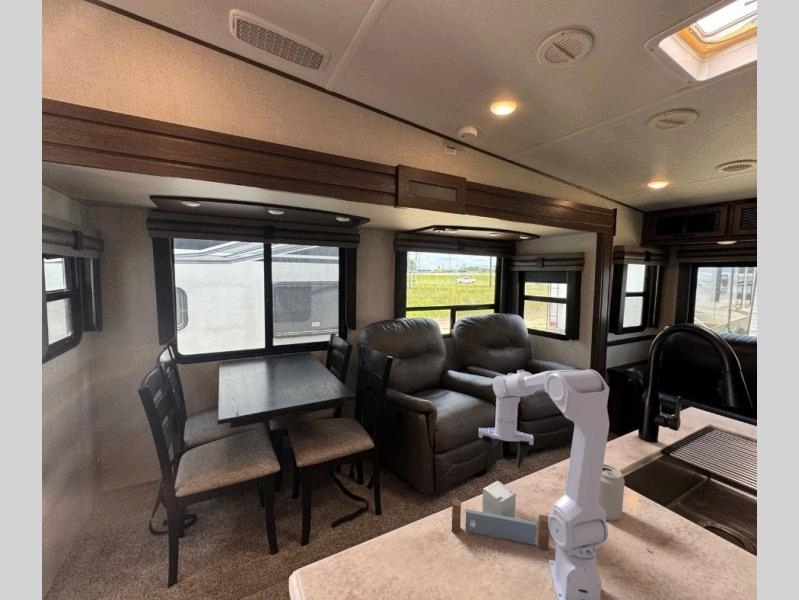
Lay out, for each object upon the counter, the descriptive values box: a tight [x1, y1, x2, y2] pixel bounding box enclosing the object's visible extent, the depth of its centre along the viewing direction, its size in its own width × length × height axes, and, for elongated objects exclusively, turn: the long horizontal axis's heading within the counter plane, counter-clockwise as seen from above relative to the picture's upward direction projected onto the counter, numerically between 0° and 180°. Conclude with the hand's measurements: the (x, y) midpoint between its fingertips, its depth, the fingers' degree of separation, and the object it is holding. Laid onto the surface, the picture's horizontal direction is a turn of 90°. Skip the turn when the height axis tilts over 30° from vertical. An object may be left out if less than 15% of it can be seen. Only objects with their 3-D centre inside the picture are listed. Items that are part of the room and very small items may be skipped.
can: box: [597, 463, 626, 521], centre depth 86 cm, size 8×8×12 cm
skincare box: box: [481, 480, 517, 518], centre depth 84 cm, size 6×6×7 cm
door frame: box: [451, 498, 551, 552], centre depth 77 cm, size 2×22×7 cm, turn 76°
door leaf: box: [464, 508, 537, 546], centre depth 76 cm, size 2×16×5 cm, turn 76°
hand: (504, 463), depth 91 cm, fingers open, 7 cm apart
